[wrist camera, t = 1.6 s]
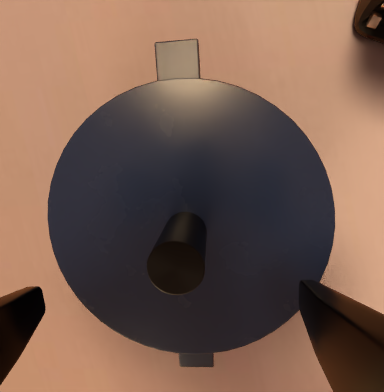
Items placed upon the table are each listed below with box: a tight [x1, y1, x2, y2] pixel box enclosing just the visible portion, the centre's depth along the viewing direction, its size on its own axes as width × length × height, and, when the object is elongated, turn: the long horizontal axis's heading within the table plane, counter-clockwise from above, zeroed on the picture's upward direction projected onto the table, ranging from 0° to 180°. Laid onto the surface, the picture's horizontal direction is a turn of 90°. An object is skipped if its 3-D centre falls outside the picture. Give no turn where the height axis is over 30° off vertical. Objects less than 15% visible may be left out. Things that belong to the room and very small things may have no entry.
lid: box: [48, 78, 335, 354], centre depth 13 cm, size 17×17×6 cm
